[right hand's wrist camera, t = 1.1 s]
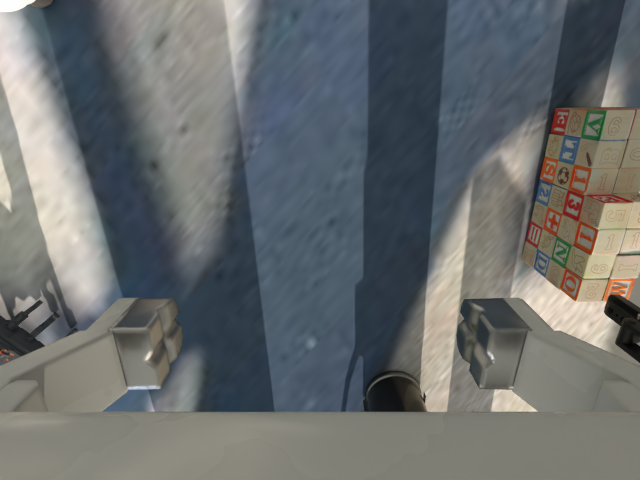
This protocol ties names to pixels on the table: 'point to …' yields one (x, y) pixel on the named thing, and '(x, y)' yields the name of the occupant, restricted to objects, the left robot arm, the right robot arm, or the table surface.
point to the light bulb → (21, 4)
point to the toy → (21, 336)
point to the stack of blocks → (589, 204)
